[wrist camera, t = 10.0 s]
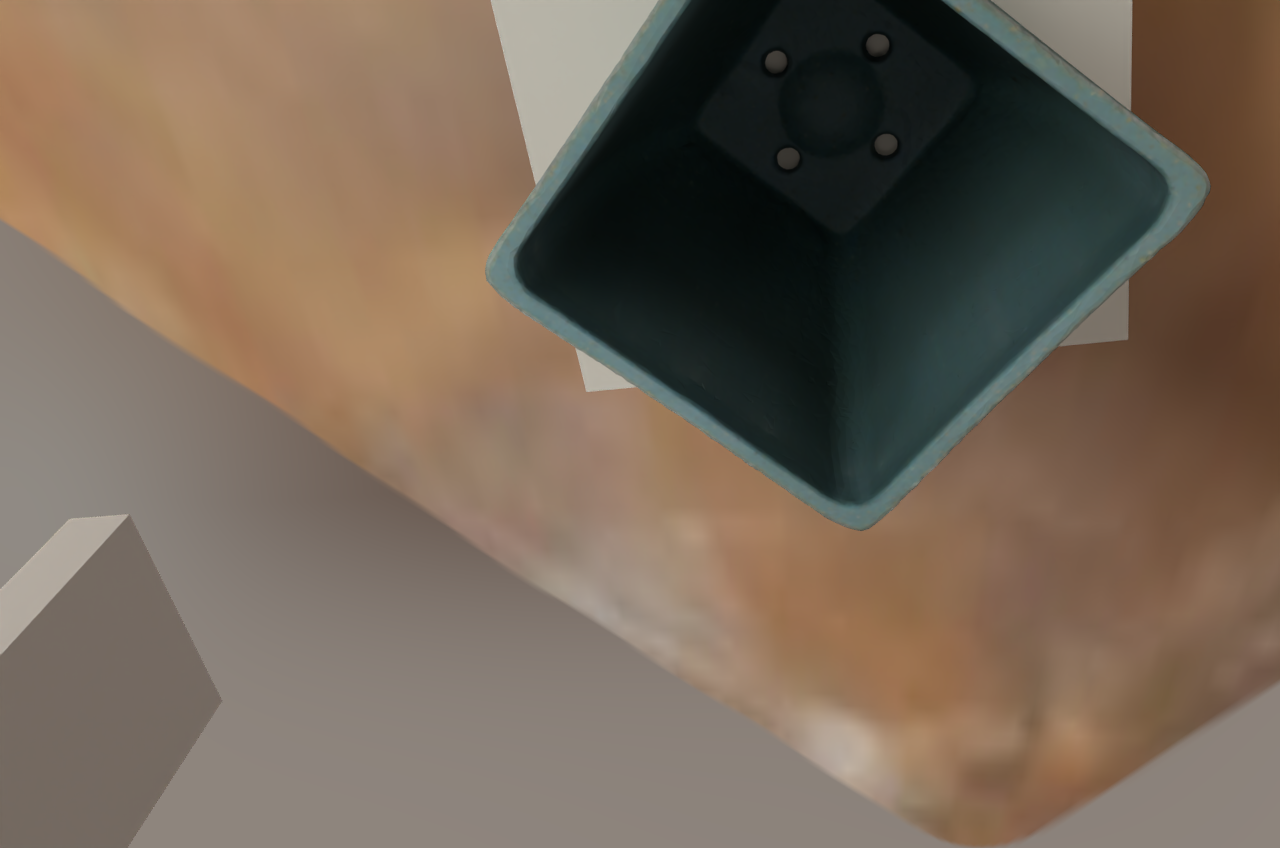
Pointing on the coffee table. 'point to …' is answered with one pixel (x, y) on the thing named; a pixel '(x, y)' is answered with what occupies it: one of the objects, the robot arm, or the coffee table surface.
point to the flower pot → (839, 229)
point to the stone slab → (620, 3)
